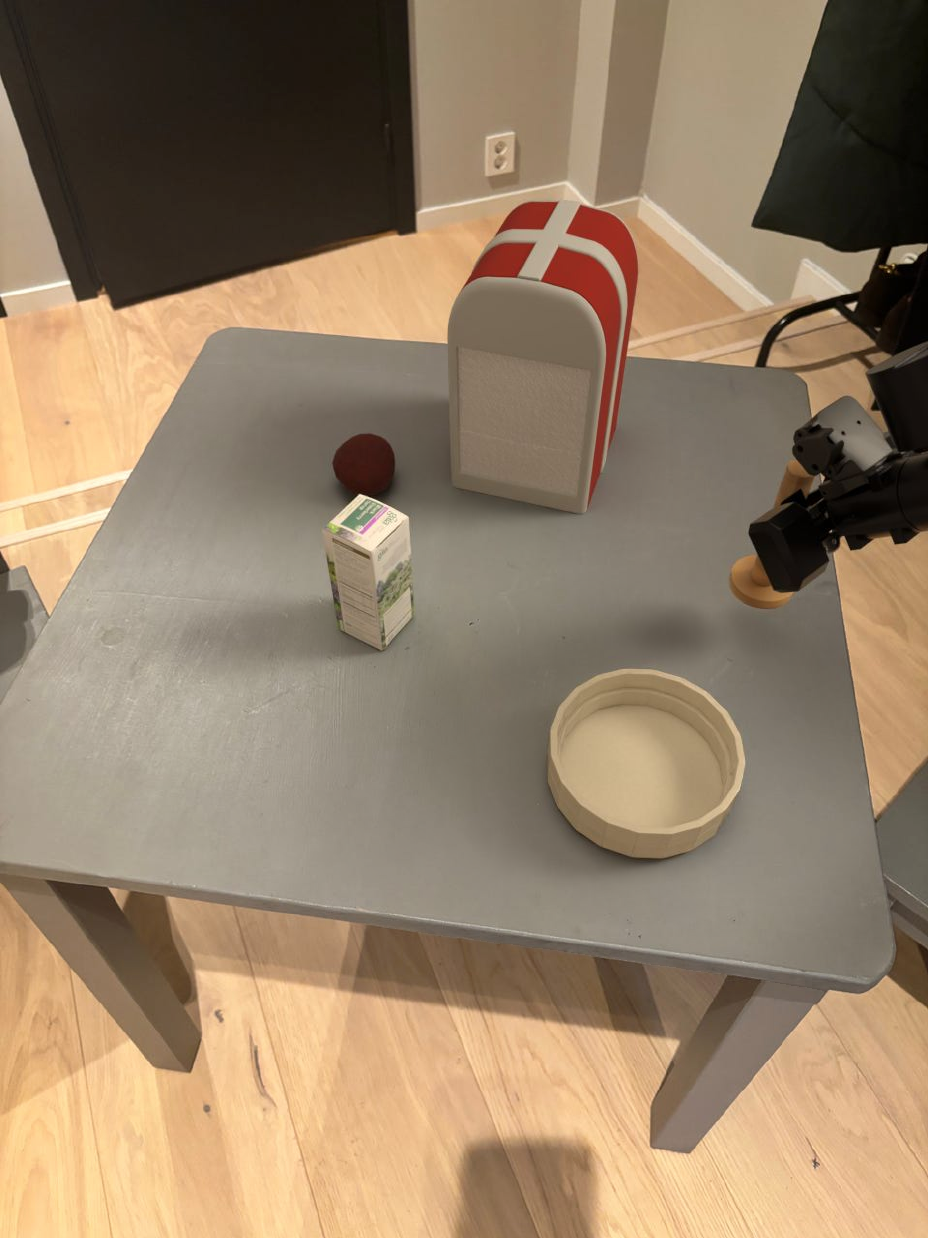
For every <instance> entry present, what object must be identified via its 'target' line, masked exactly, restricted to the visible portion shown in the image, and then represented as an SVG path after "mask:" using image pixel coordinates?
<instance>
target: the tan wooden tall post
mask: <svg viewBox="0 0 928 1238" xmlns="http://www.w3.org/2000/svg"><path fill="white" fill-rule="evenodd" d="M782 476H783V477H782V480H781V483H780V486H779V488H778V492H777V493H776V497H775V500H774V503H773V507H772V509H774V508H776V507H778V506H780V503H781V502H782V501H783V500H785V499H786V498H787V497H789V496H790V495H792V494H793V493H795V492H796V491H798V490H799V489H802V492H803V494H804V496H805V498H806V500H807V497H808V494H809V492H811V489H812V486H813V483H814V482H815V481H814V480H815V478H816V476H812V475H809V474H808V473H807V472H806V471H805V469H804V468H803V467H802V466H801V464H800V463H799V462H798V461H797V459H796V458H795V459H792V460H790V461H789V462H788V463H787V465H786V468H785V471H784V474H783V475H782ZM728 587H729V589H730V591H731V593H732V595H734V597H735V598H736V599H737V600H738V601H740V602H741V603H743V604H745V605H746V606H748V607H751V608H755V609H760V610H774V609H778V608H781V607H783V606H785V605H786V604H788V603H789V601H790V600H791V599H792V597H793V594H794V592H787V593H779V592H777V591H774V590H773V588H772V586H771V583H770V581H769V579H768V577H767V574H766V572H765V570H764V568H763V566H762V563H761V561H760V559H759V557H758V554H757V553H756V554H751V555H747V556H744V557H742V558H741V557H740V559H738V560H736V562H734V564H733V565H732V567H731V570H730V572H729V577H728Z"/></svg>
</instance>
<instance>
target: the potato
mask: <svg viewBox="0 0 928 1238" xmlns="http://www.w3.org/2000/svg"><path fill="white" fill-rule="evenodd" d="M395 456H396V455H395V452H394V449H393V447H392V445H391V444H390V442H389V441H387V440H386V439H385V438H383V436H380V435H377V434H375V433H369V432H368V433H358V434H356V435H353V436H351V437H350V438H348V439H347V440H345V442H342V444H341V445H340V446H339V447H338V448H337V449H336V450H335V453H334V455H333V459H332V463H331V464H332V469H333V472H334V475H335V477H336V480H338V481H339V482H340V484H341V485H342V486H343V487H344V488H345V489H346V490H347V491H349V492H351V493H353V494H355V495H357V496H358V495H359V494H361V495H364V496H367V497H369V496H374V495H377V494H379V493H381V492H383V491H384V490H386V489H387V488H388V487H389V485H390V484H391V483H392V480H393V478H394V475H395V469H396V457H395Z"/></svg>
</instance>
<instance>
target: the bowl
mask: <svg viewBox="0 0 928 1238" xmlns="http://www.w3.org/2000/svg"><path fill="white" fill-rule="evenodd" d="M546 757H547V758H546V759H547V762H546V763H547V765H546V766H547V783H548V786H549V788H550V791H551V794H552V796H553V800H554V802H555V804H556V807H557V808H558V810H560V812H561V814H562V815H564V817H565V818H566V819H567V821H568V822H569V823H570V824H571V826H572V827H573V828H574V829H575V830H576V831H577V832H578V833H580V834H582V835H583V836H584V837H586V838H587V839H589V840H590V841H592V842H593V843H595V844H596V845H597V846H599V847H601V848H604V849H606V850H608V851H609V850H610V851H612V852H616V853H618V854H621V855H624V856H626V857H627V856H628V857H631V858H641V859H642V858H643V859H644V858H645V859H666V858H669V857H673V856H676V855H680V854H681V855H682V854H684V853H688V852H691V851H693V850H695V849H696V848H698V847H700V846H701V845H703V843H705V842H706V841H708V840H709V839H711V838H713V837H714V836H715V835H716V833H717V832H718V831H719V829H720V828H721V826H722V824H723V823H724V822H725V820H726V819H727V817H728V816H729V814H730V812H731V809H732V808H733V805H734V804H735V801H736V799H737V797H738V794H739V792H740V790H741V788H742V783H743V778H744V773H745V769H746V764H747V763H746V762H747V761H746V756H745V750H744V745H743V739H742V735H741V733H740V731H739V729H738V728H737V726H736V724H735V723H734V720H733V719H732V717H731V716H730V713H729V712H728V710H726V709H725V708H724V707H723V705H721V704H720V703H719V702H718V701H717V700H716V699H715V698H714V697H713V696H712V695H711V694H710V693H709V692H708V691H707V690H704V688H701V687H699V686H697V685H696V684H694V683H693V682H691V681H689V680H688V679H686V678H683V677H681V676H678V675H674V674H671V673H667V672H663V671H661V670H656V669H649V668H622V669H617V670H613V671H612V670H611V671H609V672H603V673H600V674H599V673H598V674H597V675H596V676H593V677H592V678H590V679H588V680H587V681H585V682H583V683H581V684H580V685H577V686H576V687H575V688H574V689H573V690H572V691H571V692H570V693H569V694H568V696H567V697H566V698H565V699H564V700H563V701H562V702H561V704H560V705H559V706H558V708H557V711H556V713H555V716H554V719H553V721H552V724H551V727H550V730H549V737H548V747H547V755H546Z"/></svg>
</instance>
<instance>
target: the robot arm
mask: <svg viewBox="0 0 928 1238" xmlns="http://www.w3.org/2000/svg"><path fill="white" fill-rule="evenodd" d="M864 374H865V376H866V380H867V381H868V384H869V386H870V389H871V391H872V394H873V396H874V399H875V402H876V404H877V407H878V409H879V411H880V414H881V416H882V418H883V421H884V424H885V426H886V429H887V431H884V432H883V430H882V429H881V428H880V426H879V425H878V424H877V423H876V422H875V421H874V419H873V418H872V417H871V416H870V414H869V413H868V412H867V411H866V409H865V408H864V407H863V406H862V405H861V403H860V402H859V401H858V400H857V399H856V398H855V397H853V396H851V395H842V396H841V397H839V398H838V399H836V400H835V401H833V402H831V403H830V404H829V405H827V406H825V407H824V408H822V409H820V410H819V411H818V412H817V413H815V415H813V417H811V418H810V419H809V420H807V422H806V423H804V425H802V426H801V427H799V428H798V429H796V430H795V431H794V434H793V438H792V439H793V443H794V444H793V446H792V447H791V454H792V456H793V457H794V458H795V459H797V461H798V462H799V463H800V464H801V466H802V467H803V468H804V469H805V471H806V472H807V473H808V474H809V475H812V476H815V477H817V476H818V475H822V477H824V478H823V481H822V483H821V484H819V485H818V486H817V488H815V489H813V490H810V492H809V494H808V497H807V500H806V498H805V496H804V494H803V492H802V489H799V490H798V491H796V492H795V493H793V494H792V495H790V496H789V497H787V498H786V499H785V500H783V501H782V502H781V503H780V506H778V507H776V508H774V509H773V508H772V509H769V510H768V511H767V512H765V513H764V514H762V515H761V516H760V517H757V519H755V520H753V521H752V522H750V523H749V526H748V532H747V534H748V537H749V539H750V541H751V543H752V545H753V547H754V550H755V552H756V555H757V554H758V557H759V559H760V561H761V563H762V566H763V568H764V570H765V572H766V574H767V577H768V579H769V581H770V583H771V586H772V588H773V590H774V591H777V592H779V593H787V592H793V593H795V592H800V591H801V590H802V589H804V588H805V587H807V586H808V585H809V584H810V583H811V582H813V581H814V580H816V579H818V578H819V577H820V576H821V575H822V574H823V573H825V572H826V570H827V567H828V565H829V563H830V558H829V557H830V556H832V555H833V554H834V553H835V552H837V551H838V550H839V549H840V548H841V544H842V543H841V538H842V537H844V540H845V542H846V544H847V546H848V549H849V551H850V552H851V551H859V550H862V549H863V548H865V547H866V546H868V544H870V543H871V542H872V541H874V540H876V539H882V538H888V537H891V540H892V542H893V544H894V546H896V545H904V544H907V543H909V542H910V541H911V540H913V539H914V538H915V537H916V536H918V535H919V534H920V533H923V532H928V341H925V342H922V343H920V344H916V345H915V346H912V347H910V348H908V349H905V350H904V351H901V352H899V353H896V354H894V355H891V356H890V357H888V358H887V359H884V360H882V361H881V362H879V363H877V364H875V365H874V366H872V367H870V368H869V369H868V370H867V371H866V372H865V373H864Z"/></svg>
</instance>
